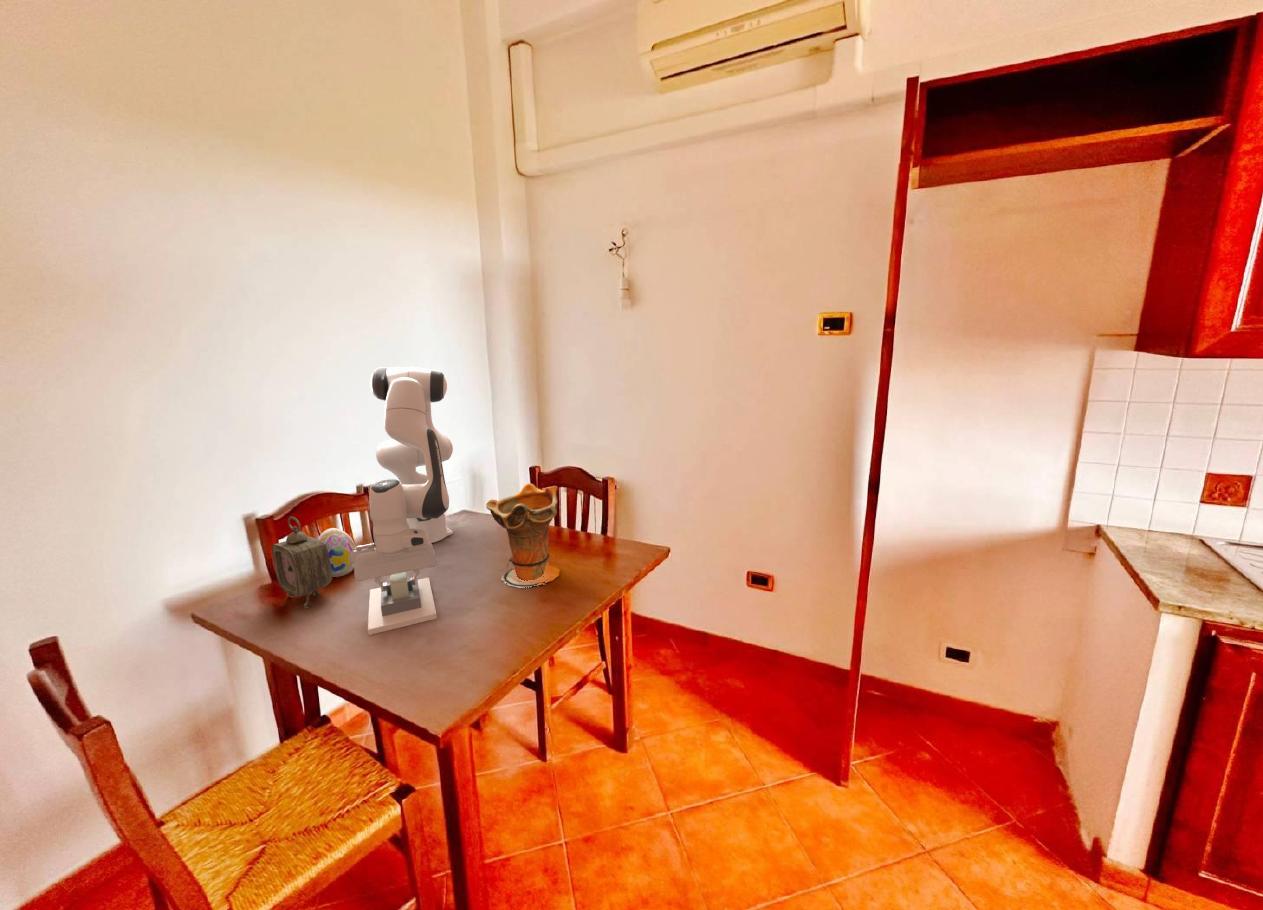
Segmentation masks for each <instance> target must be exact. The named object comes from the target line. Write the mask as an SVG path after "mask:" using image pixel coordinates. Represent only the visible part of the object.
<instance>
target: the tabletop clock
mask: <svg viewBox="0 0 1263 910" xmlns="http://www.w3.org/2000/svg"><path fill="white" fill-rule="evenodd" d="M291 520H294V521H295V522H296V524H297V525H298V527H297V525H295V526H292V525H291ZM287 524H288V527H289V529H290V530H291V531H293V532H291V533H289V534H288V535H287V537H286V540H285V541H282V542H279V543H275V544H272V545H271V555H272V561H273V567H274V572H275V575H276V576H275V577H276V579H277V582H278V585H279V587H280V588H281V590H282V591H284V592H286V593H287V594H286V597H287V596H293V597H295V598H299V597H302V596H305V601H306V602H304V603H303V607H304V608H305V607H309V608H310V607H311V602H309V601H310V595H311V594H312V596H313V595H314V596H313V597H318V596H319V595H320V591H318V590H320V589H323V588H325V587H327V586H329V584H330V583H331V582H332V581H333V578H332V570H331V563H330V558H329V553H328V549H327V546H326V544H325V543H324V542H322V541H320V540H318V538H315V537H312V536H308V535H307V534H306V533H305V532H304V531H301V530H302V526H301V523H300V521H299V520H298V519H297V518H296V517H295V516H289V517H288V518H287ZM317 595H318V596H317Z"/></svg>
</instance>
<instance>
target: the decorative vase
mask: <svg viewBox="0 0 1263 910" xmlns="http://www.w3.org/2000/svg"><path fill="white" fill-rule="evenodd" d="M558 489H559V487H558V486H556V485H553V486H548V487H545V489H544V490H542V489H540V488H538V487H537V486H536V485H535V484H534V483H531V482H530V483H529V482H528V483H527V484H525V485H524V486H523V487H522V488H521V491H520V492H518V493H516V494H514V495H511V496H510V495H509V496H507V497H505V498H501V499H498V500H497V499H490V500H488V501H487V503H486V504H485V505H486V507H485V508H486V509H487V510H488V511H490V514H491V516H492V518H493V519H494V520H495V522H496V523H497V524H498V525H499V526H501V527H502V528H503V529H505V530H506V533H507V538H508V543H509V546H510V547H509V548H510V551H511V557H510V559H508V563H507V565H506V567H508V566H509V563H510V562H511V564H512V565H513V567H512V568H513V569H512V568H511V569H510V570H509V571H507V572H506V573H504V574H503V575H502V576H501V579H500V580H501V581H503V583H504V584H506V583H507V584H506V585H507V586H509V587H512V588H513V587H514V588H517V589H530V588H532V586H534V585H535V586H536V585H537V584H539V583H545V581H544V582H537V583H536V582H535V584H519V583H525V582H522V581H519V580H513V579H512V578H509V577H515V576H514V575H512V570H515V573H516V575H517V576H516V577H518V578H519V579H521V580H524V581H525V580H526V581H528V580H535V579H537V578H539V577H541V576H542V575H543V574H544V571H545V567H546V565H547V564H548V561H549V557H550V554H549V542H550V541H549V527H550V524H551V522H552V521H553V519H554V518H555V517H557V514H558V513H557V512H558V496H557V492H558ZM543 577H544V576H543ZM547 580H549V579H547ZM547 580H546V581H547ZM530 583H532V582H530ZM533 583H534V582H533ZM525 587H526V588H525ZM527 587H528V588H527ZM529 587H530V588H529Z"/></svg>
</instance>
